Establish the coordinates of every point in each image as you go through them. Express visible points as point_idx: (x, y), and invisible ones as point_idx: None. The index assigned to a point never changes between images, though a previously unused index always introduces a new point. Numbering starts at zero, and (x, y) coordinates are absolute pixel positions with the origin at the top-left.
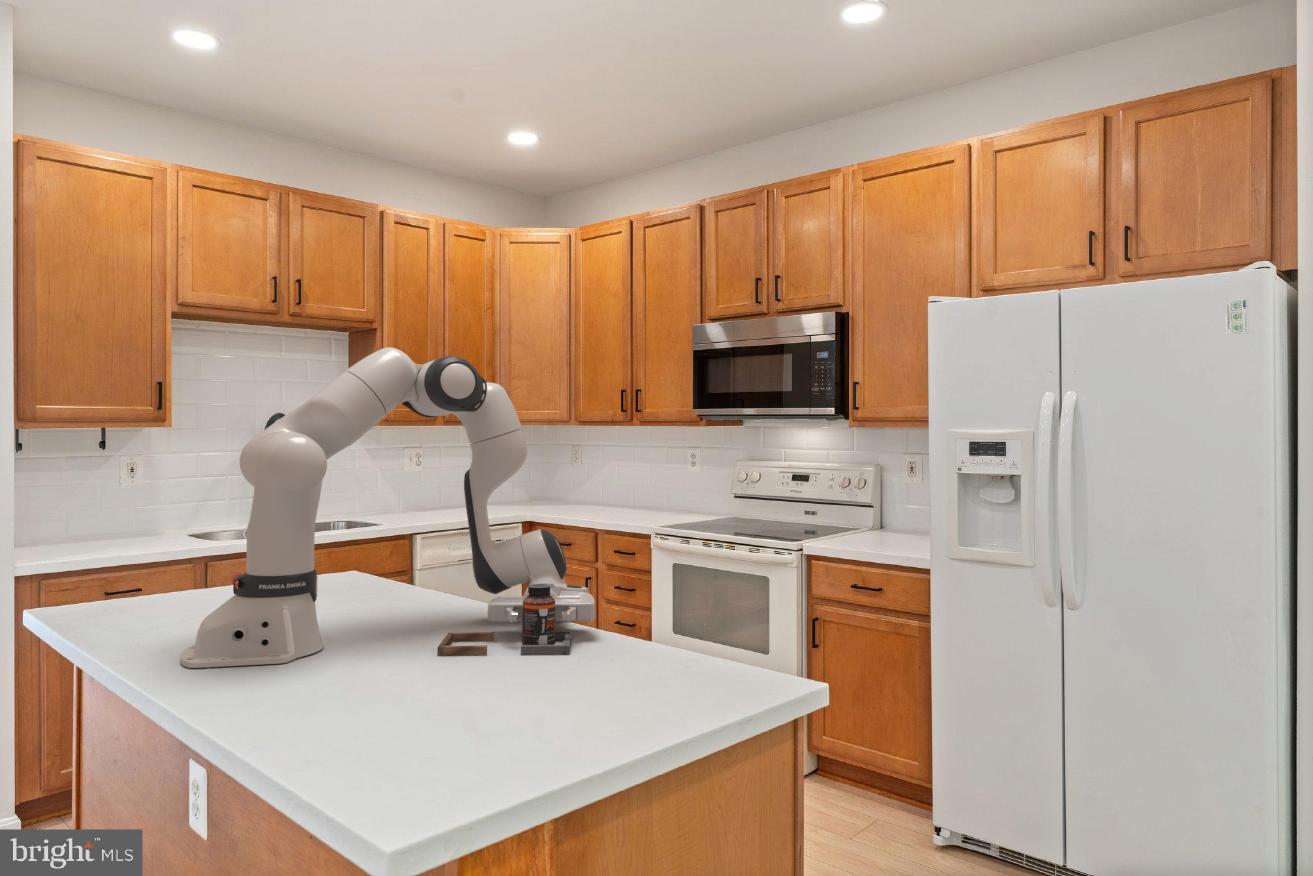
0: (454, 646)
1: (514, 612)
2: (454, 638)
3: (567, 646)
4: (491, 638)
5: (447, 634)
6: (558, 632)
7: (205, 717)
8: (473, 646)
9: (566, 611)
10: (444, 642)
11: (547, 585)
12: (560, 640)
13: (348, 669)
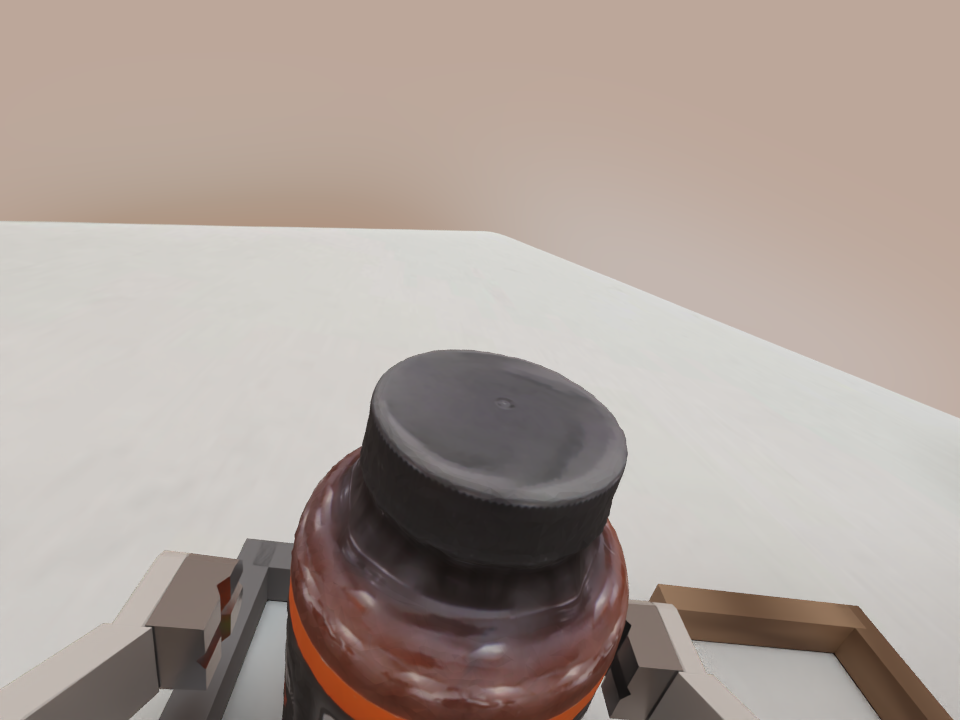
0: (802, 610)
1: (653, 628)
2: None
3: (257, 540)
4: None
5: None
6: None
7: (840, 375)
8: (720, 598)
9: (163, 607)
10: (921, 699)
11: (407, 387)
12: None
13: (935, 525)
